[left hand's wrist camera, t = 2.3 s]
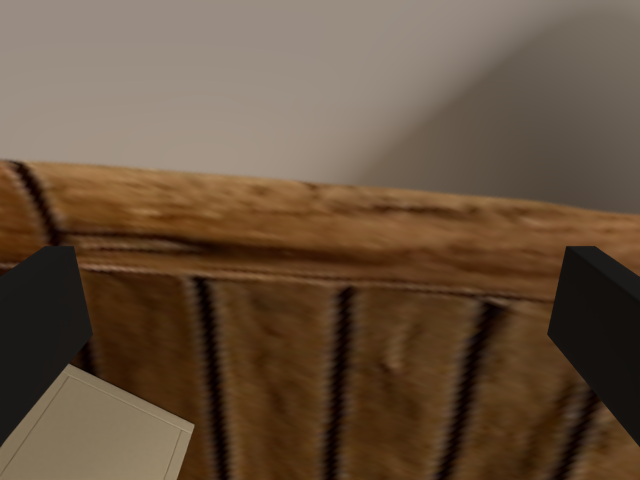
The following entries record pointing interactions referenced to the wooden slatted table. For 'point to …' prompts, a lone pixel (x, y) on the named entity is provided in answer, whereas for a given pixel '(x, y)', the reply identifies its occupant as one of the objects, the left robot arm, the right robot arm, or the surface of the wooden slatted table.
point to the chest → (94, 435)
